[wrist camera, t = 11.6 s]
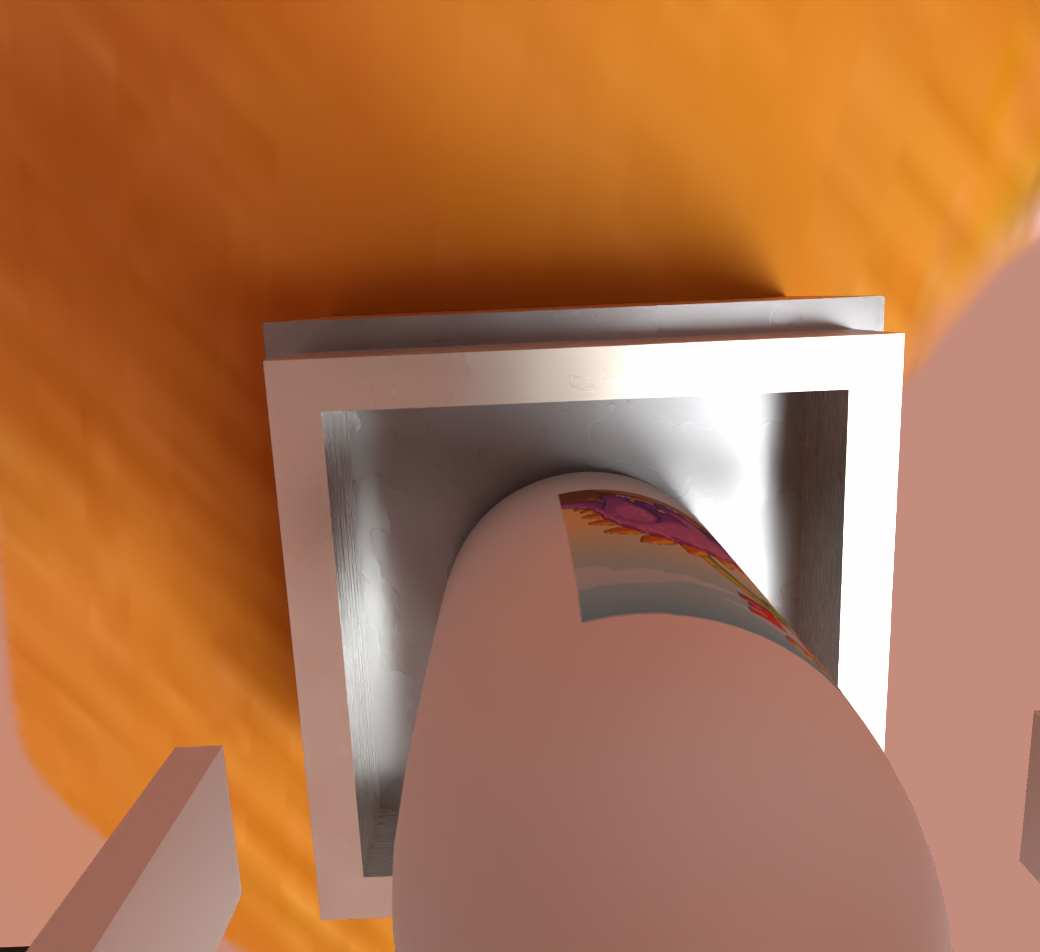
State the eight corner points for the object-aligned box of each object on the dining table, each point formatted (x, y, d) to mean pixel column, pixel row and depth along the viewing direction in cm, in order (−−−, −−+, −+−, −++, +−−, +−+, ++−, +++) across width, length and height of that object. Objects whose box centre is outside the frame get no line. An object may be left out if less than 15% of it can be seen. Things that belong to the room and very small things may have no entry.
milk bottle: (539, 778, 25) (650, 2666, 5) (391, 560, 23) (-268, 1972, 4) (774, 644, 24) (2005, 2249, 4) (635, 411, 22) (1491, 1171, 3)
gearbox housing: (328, 316, 30) (223, 326, 19) (786, 296, 30) (942, 295, 19) (367, 764, 33) (297, 987, 22) (777, 746, 33) (903, 961, 22)
